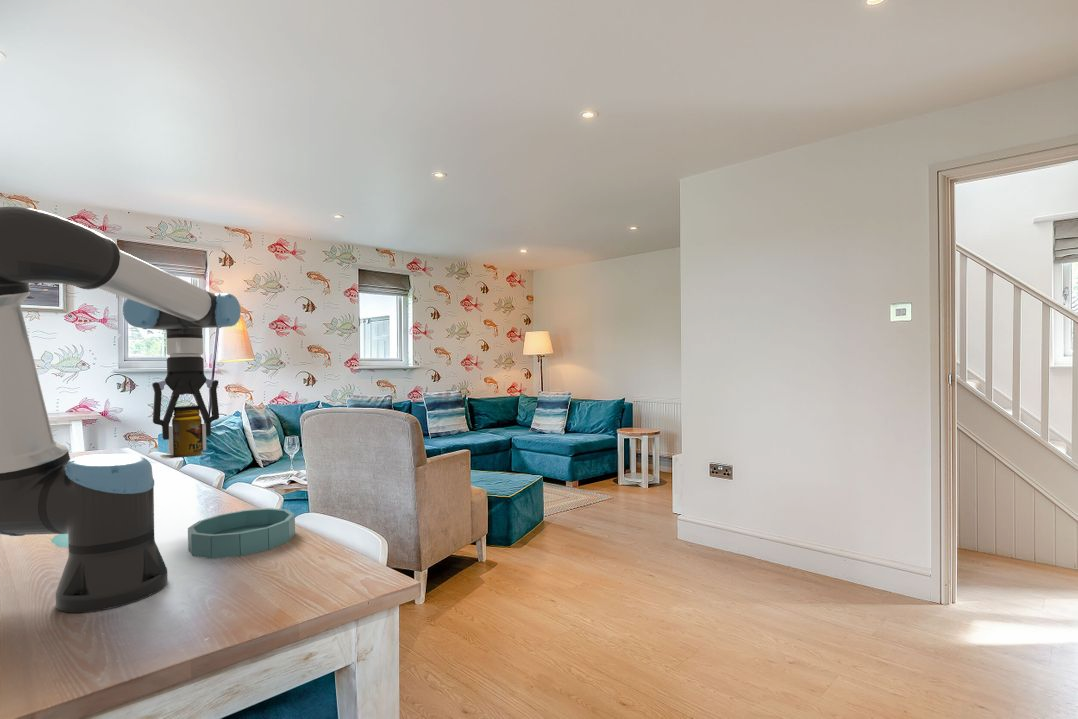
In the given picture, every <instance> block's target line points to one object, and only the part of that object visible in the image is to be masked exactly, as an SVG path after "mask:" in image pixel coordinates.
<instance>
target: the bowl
mask: <svg viewBox="0 0 1078 719" xmlns="http://www.w3.org/2000/svg"><path fill="white" fill-rule="evenodd" d="M295 535H296V514H295V513H294V512H292V511H291V510H289V509H285V508H284V509H283V508H282V509H281V508H275V507H274V508H272V507H268V508H266V507H265V508H255V509H254V508H253V509H244V510H238V511H232V512H227V513H220V514H218V515H214V516H211V517H207V518H204V519H201V520H198V521H196V522H195V523H193V524H192V525H191V526H189V527H188V528H187V546H188V547H187V548H188V552H189V553H190V555H191V556H192V557H196V558H205V559H221V558H222V559H223V558H233V557H234V558H235V557H241V556H242V557H243V556H247V555H251V554H257V553H260V552H264V551H269V550H271V549H274V548H276V547H279V546H282V545H284V544H286V543H289V542H290V541H291V539H292V538H293V537H295Z"/></svg>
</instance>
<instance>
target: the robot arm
mask: <svg viewBox="0 0 1078 719" xmlns="http://www.w3.org/2000/svg"><path fill="white" fill-rule="evenodd" d="M42 283H43V284H61V285H62V284H63V285H70V286H74V287H76V288H80V289H81V290H88V291H89V290H97V289H99V290H103V291H106V292H108V293H111V294H114V295H116V296H119V297H122V298H125V299H126V300H125V302H124V303H123V306H122V315H123V319H124V320H125V321H126V323H127V324H129V325H130V326H131V327H134V328H140V329H142V330H159V331H165V333H166V355H168V356H169V357H167V358H166V377H165V378H164V379H163V380H159V381H153V382H152V384H151V387H152V389H153V391H154V394H153V409H152V410H153V411H152V412H153V414H152V423H153V424H155V425H158V426H161V433H162V434H161V435H162V439H163V440H164V441H167V452H168V455H170V454H173V426H172V424H171V425H170V422H171V421H172V418H173V415H174V409H175V407H177V403H178V400H179V397H180V396H183V395H187V394H188V395H192V396H193V398H194V400H195V403H196V406H199V408H200V409H199V412H200V414H201V419H202V421H203V422H201V426H202V451H206V450H207V437H209V436H211V434H212V426H211V424H212V422H214V421H217V420H219V418H220V413H219V410H220V409H219V401H218V392H217V389H218V385H219V381H218V380H217V379H209V378H207V377H206V375H205V374H204V373H205V372H204V371H205V370H204V369H205V368H204V367H205V366H204V362H205V361H204V358H203V357H202V356H201V355H204V337H203V336H204V334H203V328H205V329H207V328H212V329H213V328H218V329H222V328H226V327H227V328H228V327H234V326H236V325H237V323H238V322H239V321H240V318H241V305H240V302H239V300H238V298H236V296H235V295H233V294H231V293H222V292H218V293H212V292H209V291H208V290H206V289H204V288H201V287H199V286H197V285H195V284H192V283H190V282H189V281H186V280H184V279H182V278H180V277H177V276H175V275H173V274H171V273H170V272H167V271H165V270H163V269H161V268H159V267H156V266H154V265H153V264H151V263H148V262H146V261H144V260H142V259H140V258H138V257H136V256H133V255H131V254H129V253H127V252H125V251H123V250H121V249H120V248H119V245H118V244H117V243H116V242H115V241H114V240H113V239H111V238H110V237H108V236H105V235H104V234H101V233H100V232H97V231H95V230H93V229H91V228H88V227H87V226H84V225H83V224H79V223H77V222H74V221H72V220H69V219H67V218H64V217H61V216H58V215H56V214H53V213H49V212H46V211H43V210H39V209H38V210H37V209H34V208H28V207H21V206H0V535H5V536H9V537H10V536H11V537H22V536H26V535H27V536H29V535H59V534H68V543H69V547H68V557H67V560H66V563H65V566H64V569H63V571H62V573H61V574H62V575H61V577H60V580H59V583H58V585H57V587H56V588H57V589H56V591H55V608H56V609H57V610H58V611H60V612H65V613H87V612H97V611H100V610H101V611H102V610H105V609H106V610H107V609H111V608H116V607H119V606H123V605H126V604H127V605H128V604H130V603H133V602H136V601H139V600H141V599H145V598H147V597H149V596H152V595H153V594H156V593H157V592H159V591H160V590H162V589H163V588H164V587H166V586H167V584H168V581H169V580H168V577H169V576H168V567H167V566H166V563H165V561H164V559H163V556H162V554H161V552H160V549H159V547H158V545H157V542H156V539H155V502H154V501H155V498H154V497H155V496H154V495H155V492H154V491H155V490H154V488H155V479H154V477H153V476H154V475H153V467H152V464H151V462H150V461H149V460H148V459H147V458H145V457H142V456H139V455H135V454H127V453H110V454H109V453H108V454H105V453H103V454H102V453H96V454H87V455H80V456H77V457H74V458H71V456H70V453H69V450H68V447H67V446H66V445H63V444H61V443H59V442H56V441H55V439H54V437H53V432H52V428H51V423H50V419H49V416H48V411H47V407H46V403H45V400H44V395H43V390H42V388H41V383H40V380H39V375H38V370H37V366H36V363H35V359H34V355H33V350H32V346H31V342H30V339H29V334H28V330H27V326H26V322H25V318H24V314H23V308H22V306H21V305H22V303H23V301H25V300H26V299H27V298H28V297H29V296H30V294H31V290H30V287H29V286H30V285H29V284H42ZM204 384H206V388H208V390H209V391H208V392H209V403H210V404H209V405H210V412H211V415H210V414H209V412H208V410H207V407H206V404H205V402H204V398H203V396H202V393H201V391H200V390H201V389H202V387H203V386H204ZM165 386H167V387H168V388H169V389H170V390H171V391H172V393H171V395H170V399H169V402H168V405H167V407H166V410H165V412H164V413H165V414H164V416H163V418H162V419H161V409H162V408H161V407H162V395H163V394H162V391H163V390H164V389H165Z"/></svg>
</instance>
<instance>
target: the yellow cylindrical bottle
mask: <svg viewBox="0 0 1078 719" xmlns="http://www.w3.org/2000/svg"><path fill="white" fill-rule="evenodd" d="M199 409H200V408H199V406H198V405H179V406H178V405H177V406H175V409H174V412H173V415H174V416H172V418H171V425H172V426H173V454H159V456H160V457H161V458H162V459H163V460H168V459H179V458H191V457H198V456H206V455H207V454H206V453H204V452H202V451H203V450H202V426H201V423H203V419H202V416H200V414H201V413H200V410H199Z"/></svg>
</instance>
